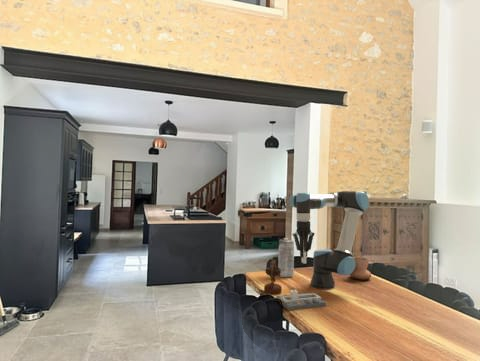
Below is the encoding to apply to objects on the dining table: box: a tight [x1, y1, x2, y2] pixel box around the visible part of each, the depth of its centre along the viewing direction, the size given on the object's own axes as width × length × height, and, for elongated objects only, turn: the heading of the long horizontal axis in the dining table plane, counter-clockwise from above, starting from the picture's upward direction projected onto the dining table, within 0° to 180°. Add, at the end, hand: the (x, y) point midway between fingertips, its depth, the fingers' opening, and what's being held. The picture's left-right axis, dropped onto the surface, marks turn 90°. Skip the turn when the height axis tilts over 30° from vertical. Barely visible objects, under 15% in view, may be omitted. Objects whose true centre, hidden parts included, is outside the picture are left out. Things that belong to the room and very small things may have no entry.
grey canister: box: [277, 237, 295, 278], centre depth 226 cm, size 9×10×27 cm
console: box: [275, 292, 327, 311], centre depth 172 cm, size 22×16×4 cm
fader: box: [289, 289, 299, 300], centre depth 171 cm, size 3×4×5 cm
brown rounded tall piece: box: [263, 258, 283, 296], centre depth 191 cm, size 15×11×20 cm
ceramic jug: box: [349, 256, 372, 281], centre depth 222 cm, size 18×14×14 cm
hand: (303, 262), depth 174 cm, fingers closed
